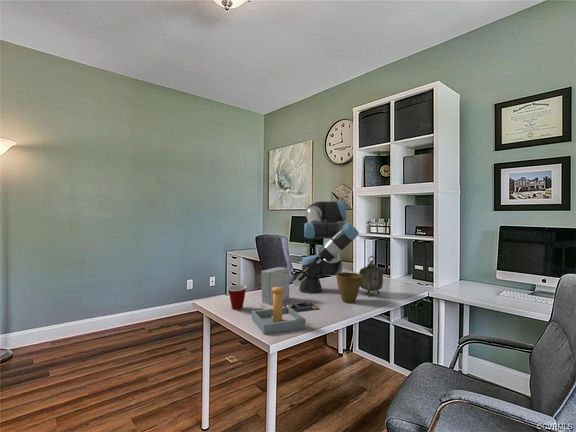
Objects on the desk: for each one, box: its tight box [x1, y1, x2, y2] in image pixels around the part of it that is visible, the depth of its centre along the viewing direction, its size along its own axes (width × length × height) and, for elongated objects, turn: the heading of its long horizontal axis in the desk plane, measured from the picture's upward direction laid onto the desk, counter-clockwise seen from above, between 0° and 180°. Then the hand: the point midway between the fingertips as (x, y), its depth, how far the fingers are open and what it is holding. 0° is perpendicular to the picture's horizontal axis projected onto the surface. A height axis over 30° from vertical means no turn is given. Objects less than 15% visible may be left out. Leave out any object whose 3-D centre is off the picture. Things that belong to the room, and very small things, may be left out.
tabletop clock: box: [358, 255, 384, 297], centre depth 197 cm, size 14×9×25 cm, turn 131°
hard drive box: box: [261, 266, 290, 306], centre depth 177 cm, size 16×8×20 cm, turn 135°
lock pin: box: [272, 287, 284, 323], centre depth 145 cm, size 6×6×16 cm
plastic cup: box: [226, 284, 248, 311], centre depth 167 cm, size 11×11×12 cm
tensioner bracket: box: [284, 301, 321, 313], centre depth 165 cm, size 16×12×3 cm
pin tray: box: [251, 306, 306, 335], centre depth 146 cm, size 20×20×4 cm
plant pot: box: [335, 271, 362, 304], centre depth 182 cm, size 15×15×16 cm
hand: (297, 281), depth 143 cm, fingers open, 13 cm apart
